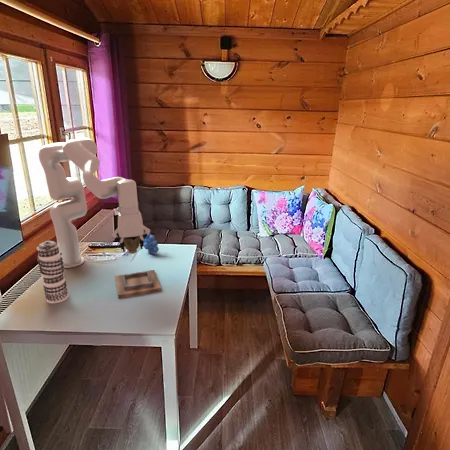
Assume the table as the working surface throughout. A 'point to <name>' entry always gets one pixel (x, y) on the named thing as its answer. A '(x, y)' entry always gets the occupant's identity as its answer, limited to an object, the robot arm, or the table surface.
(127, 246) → the cup
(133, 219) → the robot arm
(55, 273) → the decorative candle
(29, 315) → the table surface
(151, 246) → the grapes
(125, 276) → the mounting board
